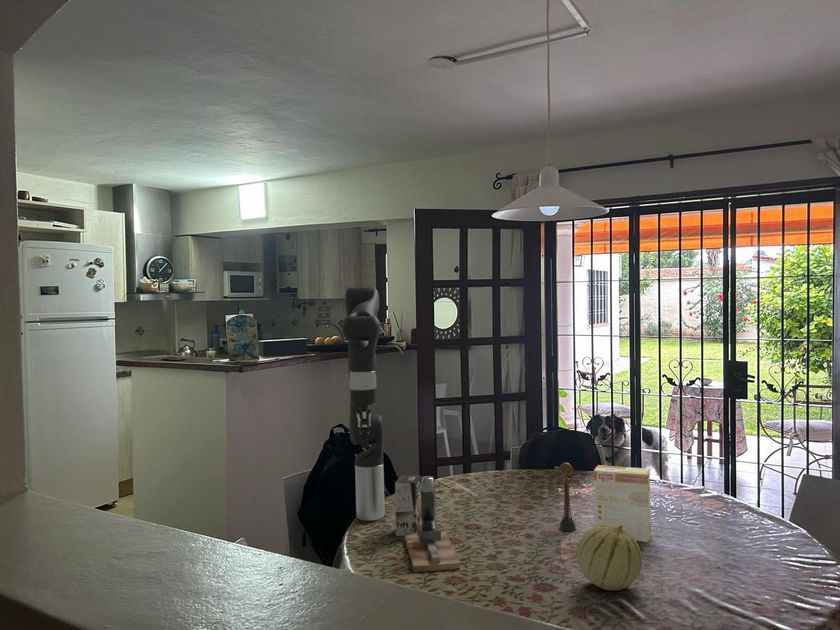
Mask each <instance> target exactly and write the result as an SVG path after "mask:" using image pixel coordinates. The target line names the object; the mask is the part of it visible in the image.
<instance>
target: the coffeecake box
mask: <svg viewBox="0 0 840 630" xmlns="http://www.w3.org/2000/svg"><path fill="white" fill-rule="evenodd" d="M650 472H651V471H650V468H645V467H644V468H643V467H642V468H641V467H630V466H629V467H628V466H615V465H602V464H601V465H600V464H598V465H596V467H595V468H594V470H593V491H594V492H593V493H594V526H597V525H600V524H611V525H615V526H617V527H619V526H620V525H622V526H623V529H624V530H626V531H627V532H628V533H630V534H631V535H632V536H633V537H634V539H635V540H636V542H641V543H650V541H651V537H652V516H651V515H652V514H651V513H652V511H651V510H652V509H651V478H650Z"/></svg>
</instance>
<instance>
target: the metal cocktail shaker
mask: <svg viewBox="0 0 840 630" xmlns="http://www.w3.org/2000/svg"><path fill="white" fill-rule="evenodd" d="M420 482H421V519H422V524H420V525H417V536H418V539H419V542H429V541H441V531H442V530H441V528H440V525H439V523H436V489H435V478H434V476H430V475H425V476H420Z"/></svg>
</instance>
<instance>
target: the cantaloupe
mask: <svg viewBox="0 0 840 630" xmlns="http://www.w3.org/2000/svg"><path fill="white" fill-rule="evenodd" d="M637 542H638V541H636V540H635V539H634V537H633V536H632V535H631V534H630V533H628V532H627V531H626V530H624V529H623V526H622V525H620V526H619V527H617V526H615V525H611V524H600V525H597V526H595V525H594V526H593V527H591V528H590V529H589V530H587V531H586V532H585V534H583V535H582V537H581V539H580V540H579V543H578V544H577V548H576V549H577V550H576V560H577V565H578V568H579V569H580V571H581V573H582V575H583V576H584V577H585V578H586V580H588V581H589V582H590V583H592V584H593V585H594V586H596V587H598V588H600V589H603V590H605V591H621V590H625V589H627V588H629V587H631V585H633V583H634V582H635V581H636V580H637V578H638V577H639V575H640V573H641V568H642V564H643V563H642V561H643V560H642V557H643V556H642V551H641V549H640V546H639V544H638V543H637Z"/></svg>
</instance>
